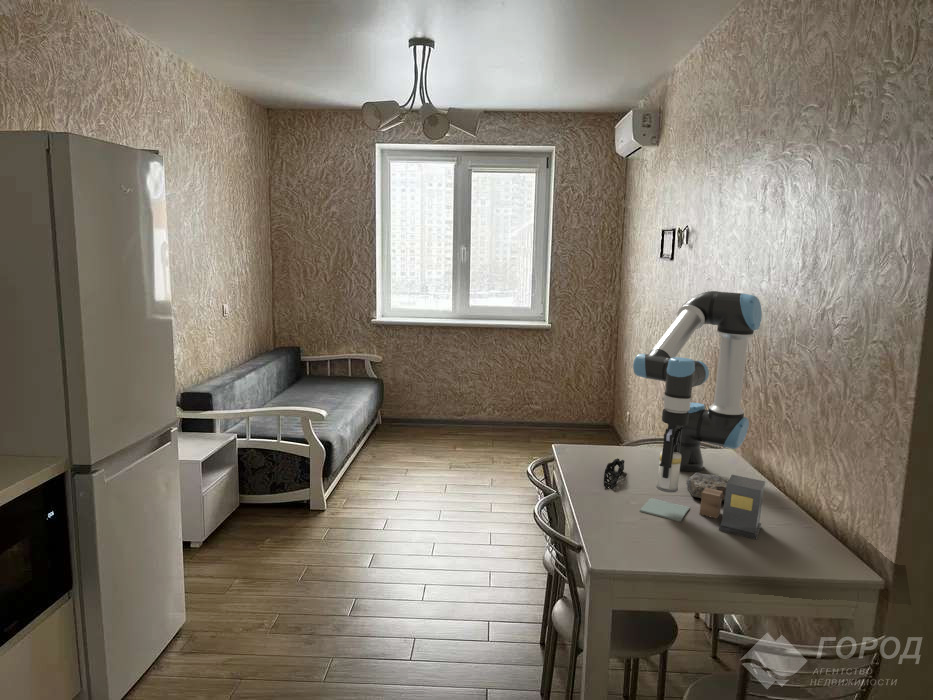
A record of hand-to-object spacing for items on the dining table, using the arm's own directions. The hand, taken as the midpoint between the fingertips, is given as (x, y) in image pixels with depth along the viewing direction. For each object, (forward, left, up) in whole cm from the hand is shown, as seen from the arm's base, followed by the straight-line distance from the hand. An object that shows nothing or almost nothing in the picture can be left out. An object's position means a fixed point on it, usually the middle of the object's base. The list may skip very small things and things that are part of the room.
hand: (667, 484), depth 202 cm
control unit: (0, +22, -8) cm, 23 cm away
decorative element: (-17, -22, -9) cm, 29 cm away
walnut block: (-6, +12, -8) cm, 16 cm away
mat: (0, 0, -8) cm, 8 cm away
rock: (-21, +9, -9) cm, 25 cm away
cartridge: (0, 0, -1) cm, 1 cm away
